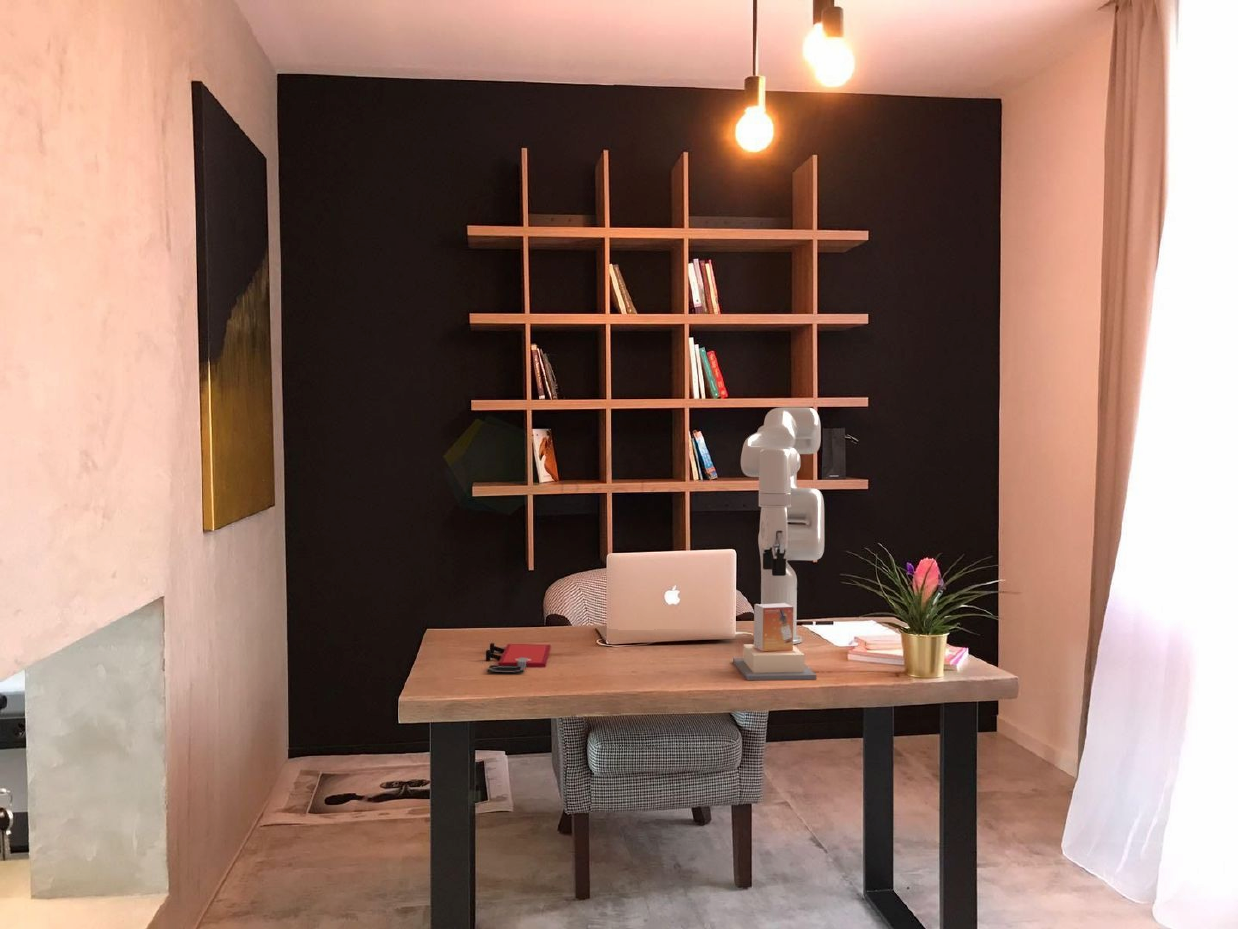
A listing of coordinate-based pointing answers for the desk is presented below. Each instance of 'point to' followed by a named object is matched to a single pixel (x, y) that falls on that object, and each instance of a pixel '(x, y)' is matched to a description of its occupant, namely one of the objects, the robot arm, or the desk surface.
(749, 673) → the build board
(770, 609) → the small box
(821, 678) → the desk surface
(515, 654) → the red board with handle
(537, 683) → the desk surface
